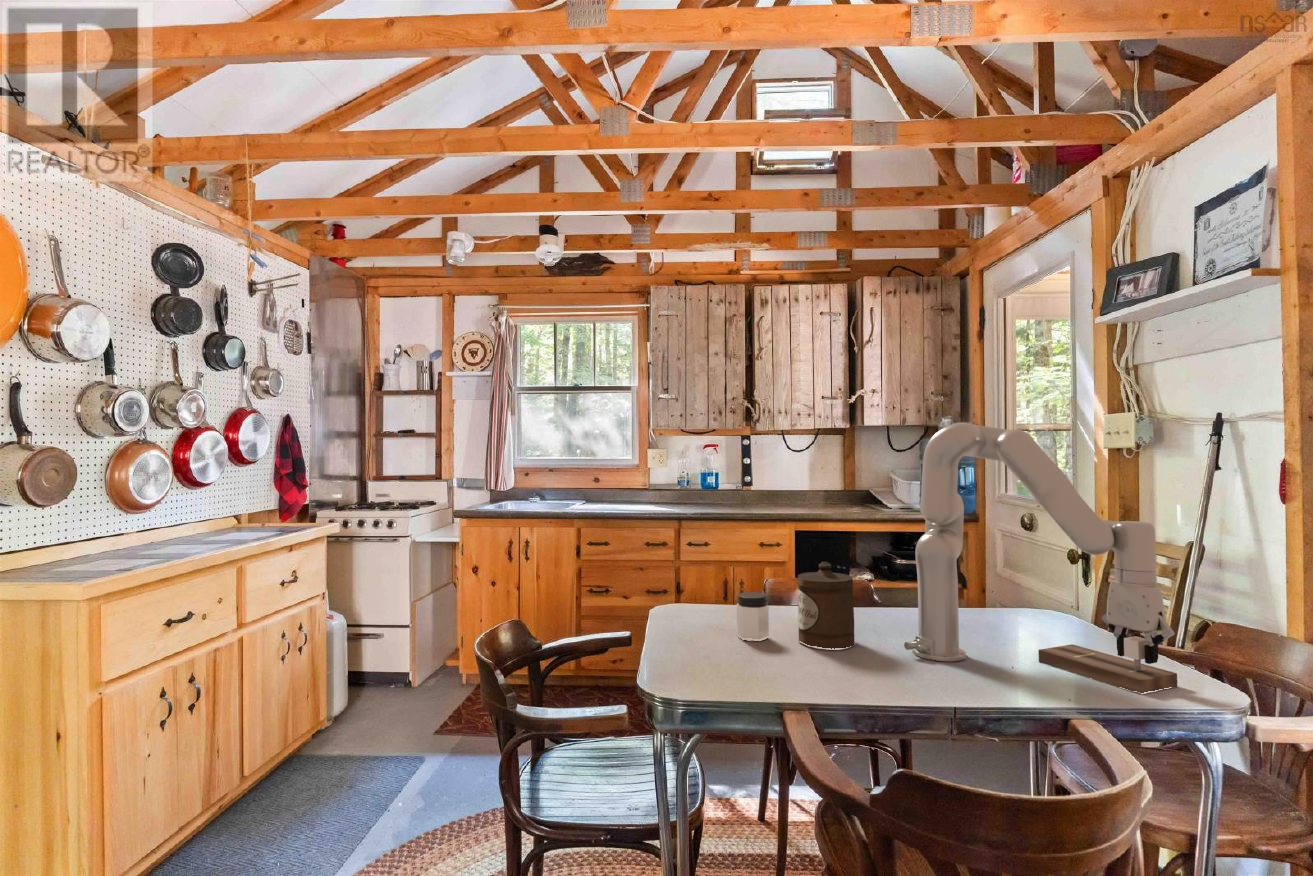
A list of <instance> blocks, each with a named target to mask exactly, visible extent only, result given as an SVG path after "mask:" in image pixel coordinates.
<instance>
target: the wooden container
mask: <svg viewBox="0 0 1313 876" xmlns="http://www.w3.org/2000/svg"><path fill="white" fill-rule="evenodd" d="M818 568H819V570H818V571H815V572H814V571H813V572H811V571H810V572H802V573H799V574H798V575H797V587H798V590H797V592H798V595H797V599H798V600H797V601H798V602H797V605H798V608H797V611H798V615H797V617H798V618H797V621H798V622H797V623H798V624H797V625H798V642H799V641H801V642H803V643H805V644H807V645H810V646H817V647H822V648H831V649H832V648H834V649H835V648H846V647H850V646H853V645H854V646H855V610H854V592H853V591H854V590H853V589H854V583H853V577H852V576H851V575H849V574H847V573H840V572H833V571H832V570H831V569H832V564H831V563H829V562H828V561H821V563H819V564H818ZM854 646H853V647H854Z"/></svg>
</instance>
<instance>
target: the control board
mask: <svg viewBox="0 0 1313 876" xmlns="http://www.w3.org/2000/svg"><path fill="white" fill-rule="evenodd" d="M1038 663H1040V664H1043V665H1046V664H1047V666H1050V667H1052V668H1057V669H1059V668H1060V669H1059V670H1062V669H1063V671H1065V670H1066V672H1069V673H1072V674H1075V673H1076V674H1075V675H1078V676H1081V677H1085V678H1088V679H1090V678H1092V679H1091V680H1093V679H1094V681H1097V682H1099V683H1100V682H1101V683H1103V682H1105V683H1104V684H1106V683H1107V684H1106V685H1109V684H1110V686H1112V685H1113V687H1115V686H1116V687H1115V688H1119V687H1122V688H1125V689H1128V690H1131V691H1137V692H1140V693H1144V692H1148V691H1155V690H1159V689H1164V688H1169V687H1176V688H1178V673H1177V672H1174V671H1169V670H1166V669H1162V668H1159V667H1156V666H1151V665H1150V664H1146V663H1145V664H1144V663H1141V670H1137V669H1134V660H1129V659H1126V658H1123V657H1121V656H1115V655H1112V654H1108V653H1105V652H1102V651H1099V650H1098V651H1097V650H1094V649H1091V648H1086V647H1083V646H1079V645H1076V644H1067V645H1066V644H1065V645H1059V646H1054V647H1047V648H1040V649H1038ZM1122 688H1121V689H1122ZM1125 689H1124V690H1125ZM1128 690H1127V691H1128ZM1131 691H1130V692H1131Z"/></svg>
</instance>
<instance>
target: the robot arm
mask: <svg viewBox="0 0 1313 876" xmlns="http://www.w3.org/2000/svg"><path fill="white" fill-rule="evenodd" d="M922 457H923V458H922V475H921V487H920V488H921V490H920V503H919V511H920V514H921V516H922V518H923V519H924V520H925V524H924V525H925V528H924V529H925V531H924V533H923V534H922V535H921V536H920V538H919V539H918V540H917V543H916V545H915V550H914V551H915V553H914V554H915V555H914V556H915V563H916V564H915V567H916V574H917V577H916V579H917V609H918V610H917V614H918V615H917V616H918V635H915V639H914V640H913V641H911V640H910V641H906V642H904V643H903V647H904V648H905V650H906V651H907V650H912V653H913V655H915V656H917V657H920V658H922V659H925V660H930V659H931V660H930V661H935V660H936V662H937V661H938V662H959V661H964V660H965V659H966V658H967V654H966V653H967V652H966V651H965V650H964V649H962V648H960V634H959V632H960V631H959V630H960V629H959V628H960V627H959V625H960V624H959V619H960V618H959V585H958V584H959V580H958V567H957V565H958V564H957V560H958V558H959V557H960V556H961V553H962V551H963V544H964V519H965V517H964V515H965V507H964V502H963V498H962V496H961V495H960V494H959V493H958V483H959V482H958V479H959V462H960V460H961V459H962V458H963V457H971V458H978V459H982V460H983V459H985V460H991V461H998V462H1002V463H1003V464H1004V465H1005V466H1006V467H1007V469H1008V470H1010V472H1011V473H1012V474H1013V475H1014V476H1015V477H1016V478H1017V479H1018V481H1019V482H1020V483H1021V484H1022V486H1023V487H1024V488H1025V489H1026V490H1027V491H1028V492H1029V493H1030V495H1031V496H1032V497H1033V498H1034V499H1035V501H1036V502H1037V503H1038V504H1039V505H1040V506H1041V508H1043V509H1044V510H1045V511H1046V512H1047V514H1048V515H1049V516H1050V517H1051V518H1052V519H1053V521H1054V522H1055V523H1056V525H1057V526H1058V527H1059V528H1060V529H1061V530H1062V531H1063V532H1064V534H1065V535H1066V536H1067V537H1068V538H1069V539H1070V540H1071V541H1072V542H1073V544H1074V545H1075V546H1076V547H1077V548H1078V549H1079V550H1081V552H1084V553H1085V554H1088V555H1091V556H1099V555H1104V554H1106V553H1108V552H1109V551H1110V550H1111V551H1112V550H1113V552H1114V553H1113V555H1114V560H1113V561H1114V568H1110V569H1109V574H1110V575H1114V579H1112V580H1111V581H1110V584H1109V587H1108V592H1107V600H1106V601H1107V602H1106V612H1105V613H1104V614H1103V616H1101V620H1102V621H1103V622H1104V624H1106V626H1107V627H1108V628H1109V629H1110V631H1111V632H1112V633H1113V637H1115V638H1116V651H1117V657H1125V656H1124V638H1128V637H1129V636H1127V635H1128V632H1129V630H1133V631H1138V632H1141V633H1143V635H1144V638H1145V639H1146V641H1147V645H1145V646H1144V648H1145V659H1144V663H1145V664H1146V665H1150V664H1151V665H1152V664H1157V663H1158V661H1159V646H1160V645H1161V644H1162V643H1163V642H1165V641H1167V639H1169V638H1171V637H1173V636H1175V634H1176V633H1175V631H1174V630H1173V628H1172V627H1171V626H1170V625H1169V623H1168V622H1167V621H1166V612H1165V605H1164V598H1163V595H1162V594H1163V593H1162V591H1161V587H1160V585H1158V584H1157V561H1156V559H1157V555H1156V553H1157V552H1156V551H1157V550H1156V529H1155V526H1154V525H1153V524H1152V523H1149V522H1146V521H1138V520H1135V521H1133V520H1121V521H1115V520H1108V519H1103V518H1100V517H1099V516H1098V515H1097V513H1096V512H1095V511H1094V510H1093V509H1092V508H1091V507H1090V506H1089V505H1088V504H1087V502H1086V501H1085V500H1084V499H1083V498H1082V496H1081V495H1080V494H1079V493H1078V491H1077V490H1076V489H1075V487H1074V486H1073V484H1072V481H1071V480H1070V479H1069V478H1068V476H1067V475H1066V474H1065V473H1064V471H1063V470H1062V469H1061V468H1060V467H1059V466H1058V465H1057V464H1056V463H1055V462H1054V461H1053V459H1052V458H1051V457H1049V455H1048V454H1047V453H1046V452H1045V451H1044V450H1043V449H1042V447H1041V446H1040V445H1039V444H1038V443H1037V442H1036V441H1035V440H1034V438H1033V437H1032V435H1031V434H1030V433H1028V432H1026V431H1024V430H1022V429H1017V428H1016V429H1014V428H1013V429H1010V428H1009V429H1007V428H1001V427H1000V428H999V427H991V426H986V425H978V424H973V423H969V422H955V423H951V424H949V425H947V426H945V427H943V428H941V429H940V430H938V431H937V432H935V433H934V435H932V436H931V438H930V439H929V441H928V442H927V444H926V447H925V449H924V453H923V456H922ZM1158 631H1159V632H1160V631H1162V632H1161V633H1160V634H1159V632H1158Z"/></svg>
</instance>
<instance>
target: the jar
mask: <svg viewBox="0 0 1313 876" xmlns="http://www.w3.org/2000/svg"><path fill="white" fill-rule="evenodd" d="M769 614H770V613H769V605H768V595H767V594H766V593H762V592H755V591H754V592H753V591H752V592H751V591H750V592H747V591H746V592H741V593H738V595H737V603H736V635H737V634H738V635H739V636H741V637H742V638H752V639H761V638H764V637H767V636H769V637H770V631H769V629H770V627H769V626H770V625H769V624H770V623H769V619H770V617H769Z"/></svg>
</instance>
